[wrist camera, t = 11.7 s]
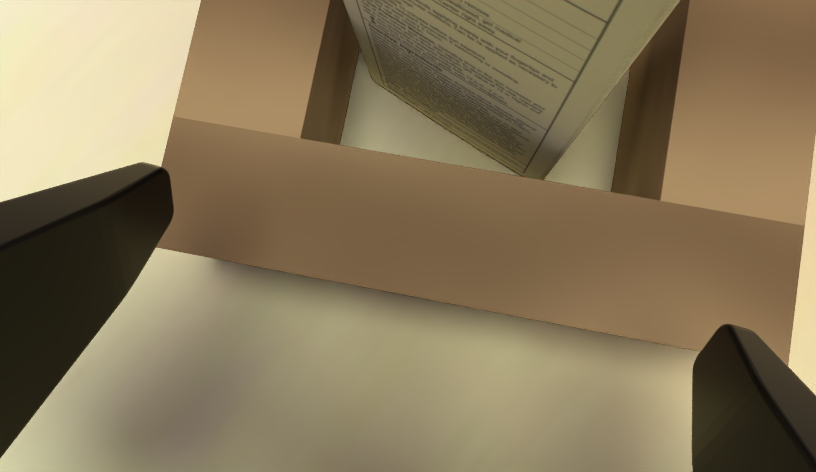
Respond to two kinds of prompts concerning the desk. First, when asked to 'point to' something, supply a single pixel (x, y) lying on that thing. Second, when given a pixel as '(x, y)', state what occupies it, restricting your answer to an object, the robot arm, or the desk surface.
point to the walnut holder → (513, 178)
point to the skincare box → (506, 65)
